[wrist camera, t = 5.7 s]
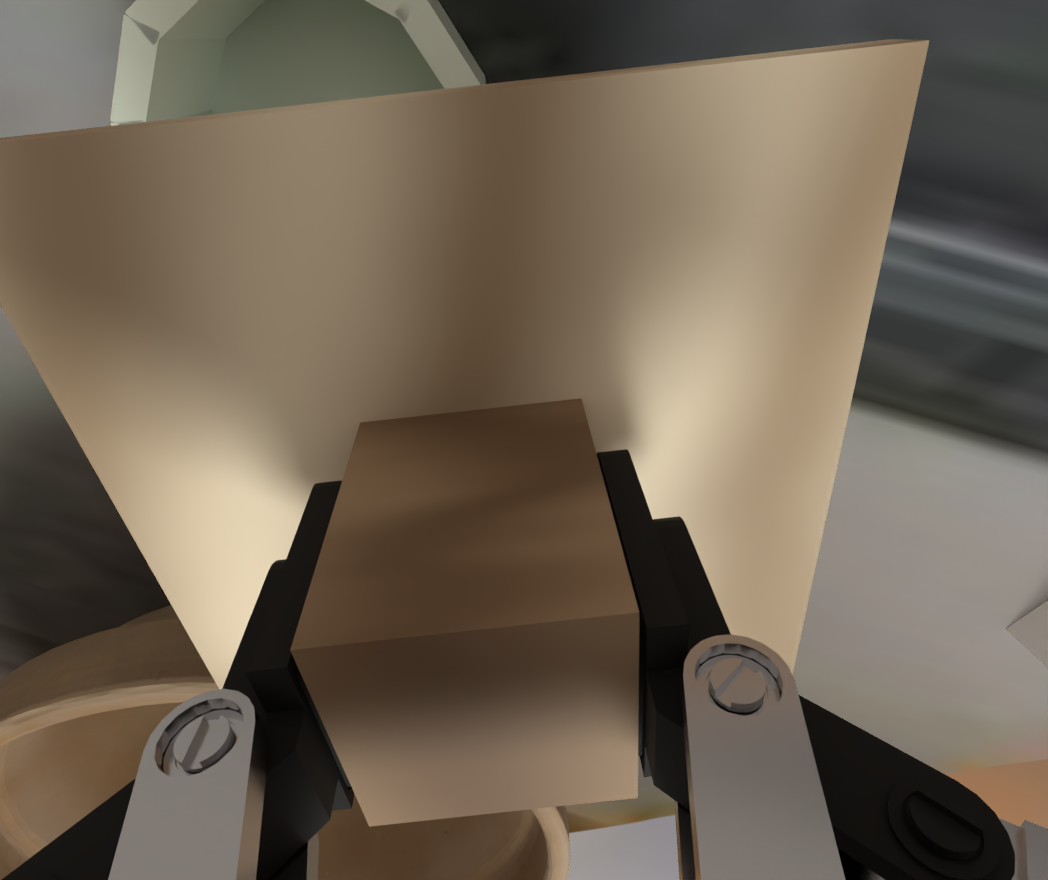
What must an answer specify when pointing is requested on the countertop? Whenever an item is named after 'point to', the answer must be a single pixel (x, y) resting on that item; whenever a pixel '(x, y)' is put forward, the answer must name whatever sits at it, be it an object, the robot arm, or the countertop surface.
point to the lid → (471, 379)
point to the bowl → (280, 55)
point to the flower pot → (136, 710)
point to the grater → (1033, 632)
